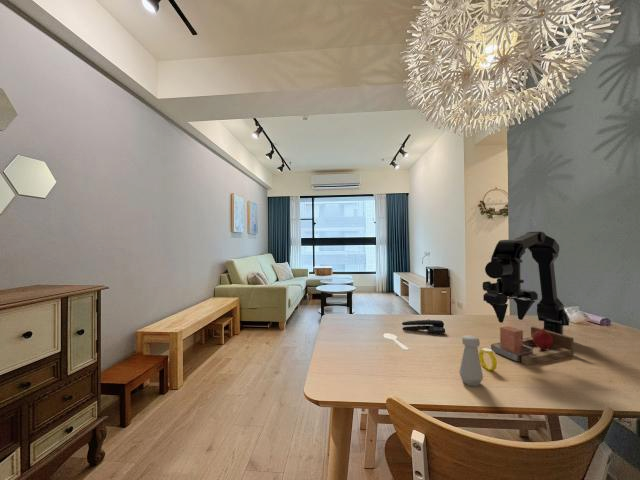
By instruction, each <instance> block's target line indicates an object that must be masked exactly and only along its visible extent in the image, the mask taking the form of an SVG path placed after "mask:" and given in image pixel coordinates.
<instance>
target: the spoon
mask: <svg viewBox="0 0 640 480" xmlns="http://www.w3.org/2000/svg"><path fill="white" fill-rule="evenodd" d="M383 337H384V338H385V339H387V340H391V341H393V342H394V343H395V344H396V345H397V346H399V347H400V348H401V349H402V350H403V349H404V351H408V350H410V348H409V347H407V346H406V345H405V344H403V343H401V342H400V341H399V340H398V336H397V335H396V334H393V333H389V332H385V333H384V334H383Z"/></svg>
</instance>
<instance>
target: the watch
mask: <svg viewBox="0 0 640 480" xmlns="http://www.w3.org/2000/svg"><path fill="white" fill-rule="evenodd" d="M478 354H479V359H480V364H481V368H482V367H483V368H484V369H486V370H488V371H490V372H491V371H494V370H496V369H497V366H498V364H497V363H498V362H497V358H496V356H495V354H494V350H492V349H491V348H488V347H483V348H482V349H481V350H480V351H478ZM484 354H488V355H489V357H490V359H491V364H492V366H491V367H490V366H488V365H487V364H486V362H485V359H484Z"/></svg>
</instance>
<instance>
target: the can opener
mask: <svg viewBox="0 0 640 480" xmlns="http://www.w3.org/2000/svg"><path fill="white" fill-rule="evenodd" d="M401 325H402V326H403V327H402V330H403V331H408V330H409V331H411V332H413V331H414V332H415V331H427V332H428V333H429V334H430V335H436V336H438V335H439V336H440V335H444V334H446V329H445V328H444V326H445V323H444V321H443V320H437V319H436V320H435V319H429V318H427V319H422V320H421V319H420V320H419V319H418V320H407V321H403V322H402V323H401Z"/></svg>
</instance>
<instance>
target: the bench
mask: <svg viewBox="0 0 640 480" xmlns="http://www.w3.org/2000/svg"><path fill="white" fill-rule="evenodd" d="M541 328H542V327H541ZM541 328H540V327H538V326H530V337H523V345H526V346H529V347H530V346H534V345H535V346H536V344H535V343H534V342H533V334H534V333H535V332H537V331H539V330H541ZM545 331H547V332H548V333H549V334H550V335H551V336H552V338H553V345H552V346H551V347H550V348H548V350H544V351H541V352H535V353H533V354H529V355H524V356H521V359H522V361H521V363H522V362H523V363H522V364H525V365H527V366H529V365H533V364H538V363H544V362H548V361H552V360H556V359H558V360H559V359H561V358H562V359H563V358H567V357H572V356H574V353H575V352H574V351H575V350H574V337H572V336H568V335H565V334H563V335H562V334H558V333H555V332H551V331H548V330H545ZM496 345H500V341H499V342H495V343H491V344H490V349H491V350H492V351H494V346H496ZM549 349H550V350H549Z"/></svg>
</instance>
